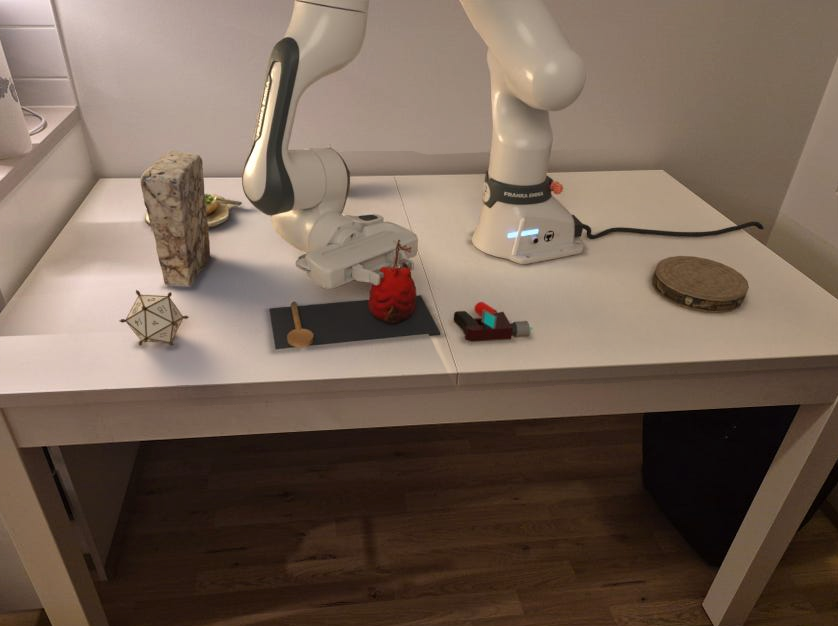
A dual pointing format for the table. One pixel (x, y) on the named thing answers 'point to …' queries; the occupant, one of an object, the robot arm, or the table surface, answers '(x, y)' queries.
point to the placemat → (348, 323)
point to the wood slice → (700, 284)
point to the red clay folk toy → (393, 293)
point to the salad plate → (214, 209)
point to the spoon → (299, 331)
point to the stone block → (178, 216)
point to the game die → (154, 318)
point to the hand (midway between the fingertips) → (396, 273)
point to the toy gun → (489, 325)
